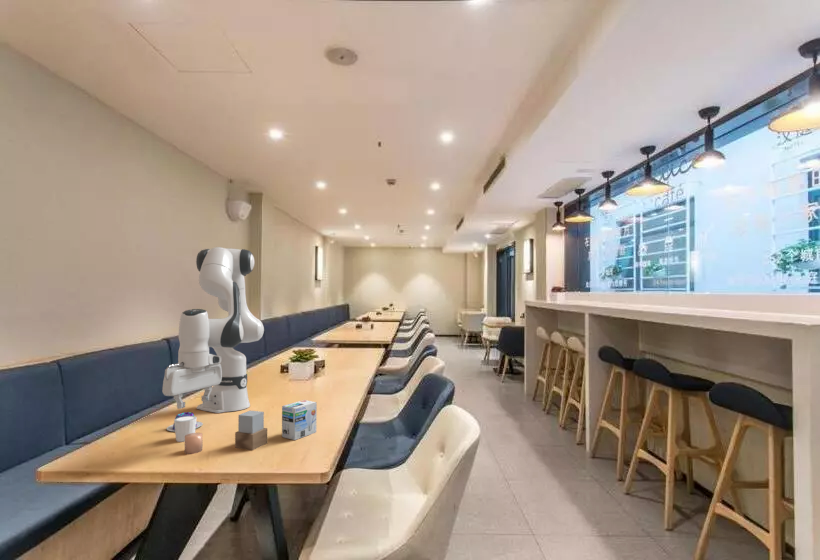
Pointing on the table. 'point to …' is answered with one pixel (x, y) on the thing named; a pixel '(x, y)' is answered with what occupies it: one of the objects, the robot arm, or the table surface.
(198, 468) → the table surface
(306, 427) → the light bulb box
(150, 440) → the table surface
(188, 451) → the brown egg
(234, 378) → the robot arm
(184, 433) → the shot glass
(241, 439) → the tower base
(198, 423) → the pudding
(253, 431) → the tower mid
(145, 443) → the table surface
